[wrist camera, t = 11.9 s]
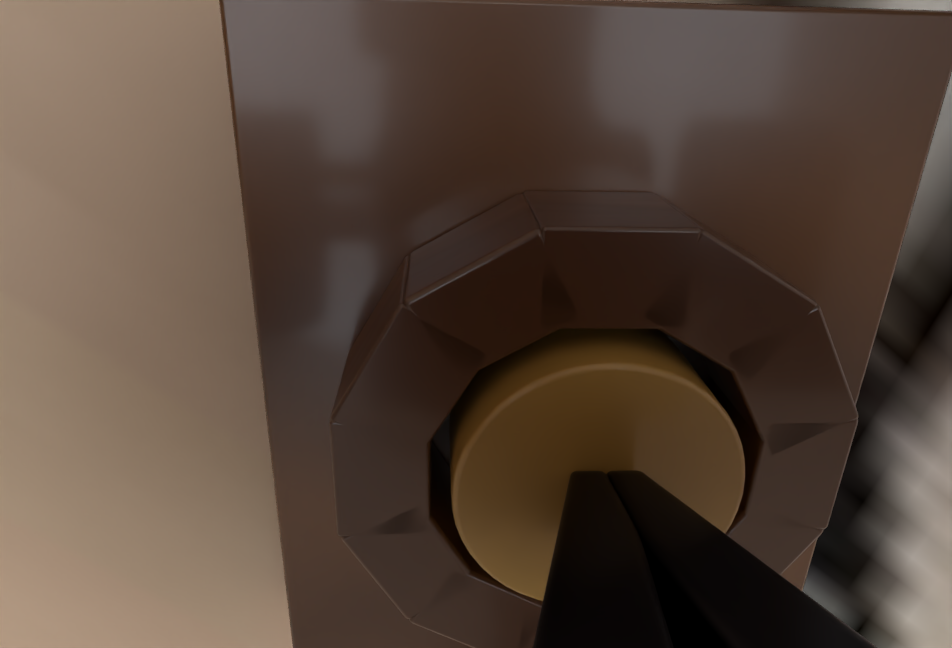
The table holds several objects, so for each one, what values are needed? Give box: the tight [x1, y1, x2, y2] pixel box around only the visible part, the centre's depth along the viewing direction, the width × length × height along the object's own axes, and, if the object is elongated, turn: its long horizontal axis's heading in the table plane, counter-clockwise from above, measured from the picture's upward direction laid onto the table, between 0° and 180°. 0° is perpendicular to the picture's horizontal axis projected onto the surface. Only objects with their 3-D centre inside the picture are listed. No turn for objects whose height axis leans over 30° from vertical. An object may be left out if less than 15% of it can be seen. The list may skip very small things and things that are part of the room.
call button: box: [449, 329, 745, 601], centre depth 9 cm, size 4×4×2 cm
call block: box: [219, 0, 952, 648], centre depth 10 cm, size 11×9×4 cm
